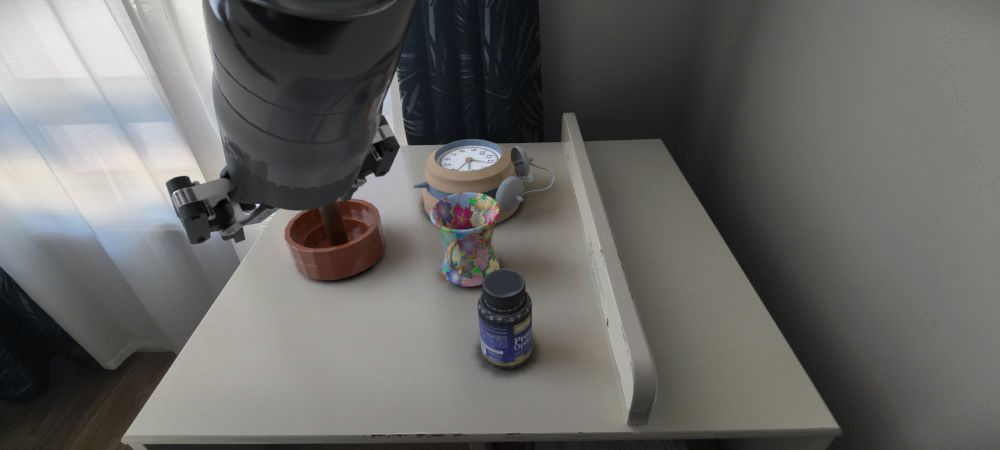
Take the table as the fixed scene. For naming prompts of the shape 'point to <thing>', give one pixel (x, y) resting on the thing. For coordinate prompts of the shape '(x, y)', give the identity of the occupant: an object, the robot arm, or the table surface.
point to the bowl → (338, 261)
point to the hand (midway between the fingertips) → (290, 209)
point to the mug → (467, 236)
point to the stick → (334, 224)
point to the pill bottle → (505, 319)
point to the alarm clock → (478, 174)
